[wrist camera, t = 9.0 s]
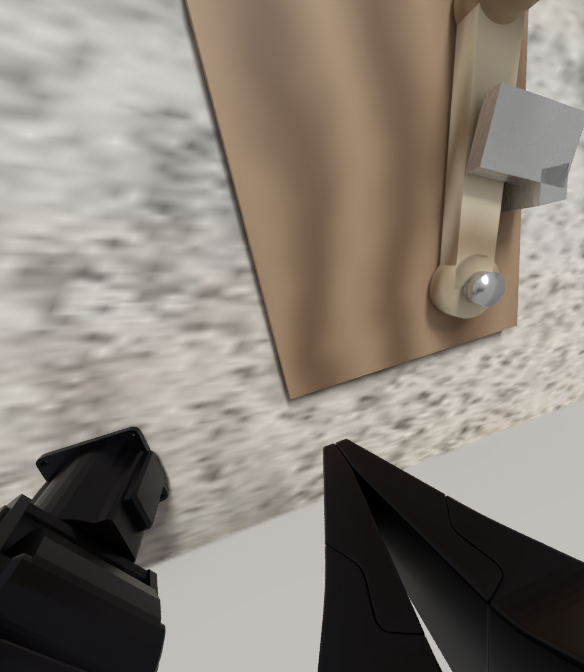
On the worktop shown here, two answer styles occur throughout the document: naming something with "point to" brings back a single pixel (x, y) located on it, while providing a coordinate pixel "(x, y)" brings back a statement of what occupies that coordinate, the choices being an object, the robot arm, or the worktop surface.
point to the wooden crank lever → (461, 187)
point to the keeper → (521, 160)
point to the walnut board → (345, 175)
